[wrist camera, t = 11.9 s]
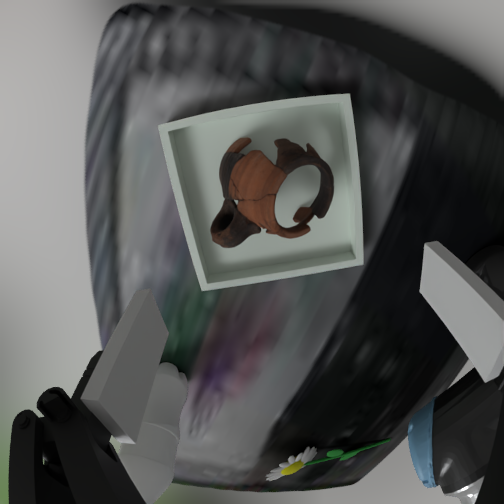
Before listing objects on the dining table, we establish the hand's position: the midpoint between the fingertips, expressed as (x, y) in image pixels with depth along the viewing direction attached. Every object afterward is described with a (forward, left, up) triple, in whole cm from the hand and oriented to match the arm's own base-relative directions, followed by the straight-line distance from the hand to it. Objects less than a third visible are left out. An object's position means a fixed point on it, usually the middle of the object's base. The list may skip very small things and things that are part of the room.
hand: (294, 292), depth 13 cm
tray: (0, 0, -18) cm, 18 cm away
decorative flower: (-6, +57, -19) cm, 61 cm away
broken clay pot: (+1, -1, -18) cm, 18 cm away
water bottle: (+19, +24, -19) cm, 36 cm away
